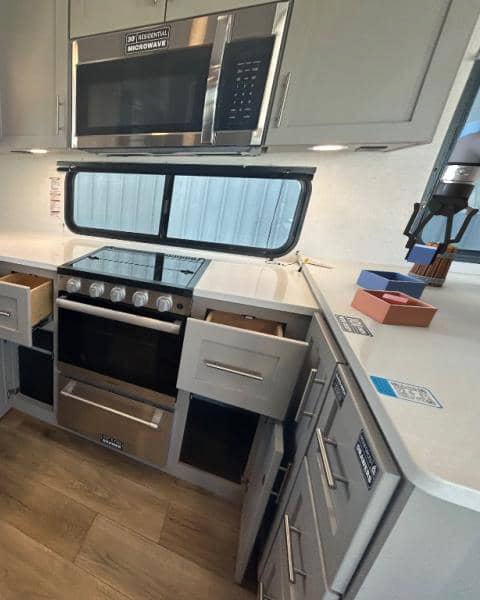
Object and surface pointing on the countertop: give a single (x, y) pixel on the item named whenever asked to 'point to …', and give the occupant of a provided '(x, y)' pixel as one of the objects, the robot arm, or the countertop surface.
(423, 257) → the blue block
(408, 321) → the terracotta bin
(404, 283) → the blue bin
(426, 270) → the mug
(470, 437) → the countertop surface
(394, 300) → the red block
